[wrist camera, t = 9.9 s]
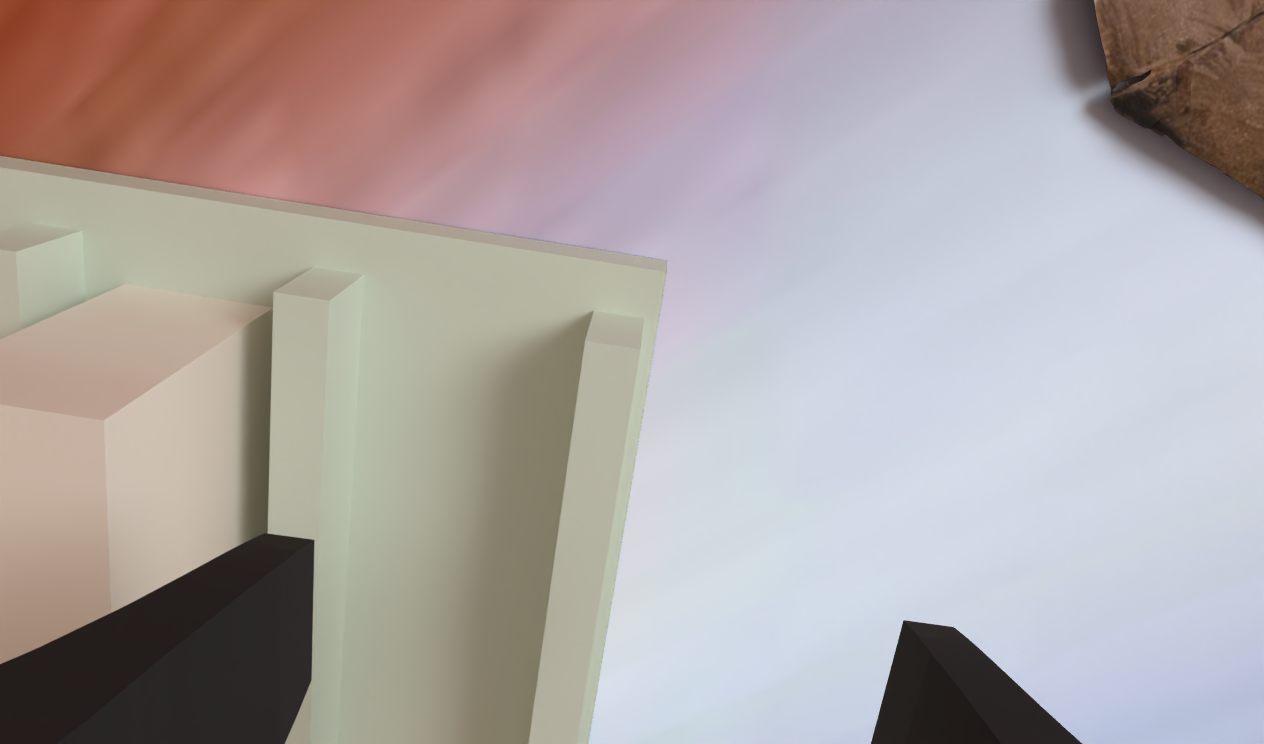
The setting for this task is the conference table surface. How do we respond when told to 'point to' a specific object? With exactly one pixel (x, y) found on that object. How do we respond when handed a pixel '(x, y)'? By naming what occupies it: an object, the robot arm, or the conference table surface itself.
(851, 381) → the conference table surface
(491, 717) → the rack
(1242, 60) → the wooden fragment
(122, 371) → the beige rectangular block
